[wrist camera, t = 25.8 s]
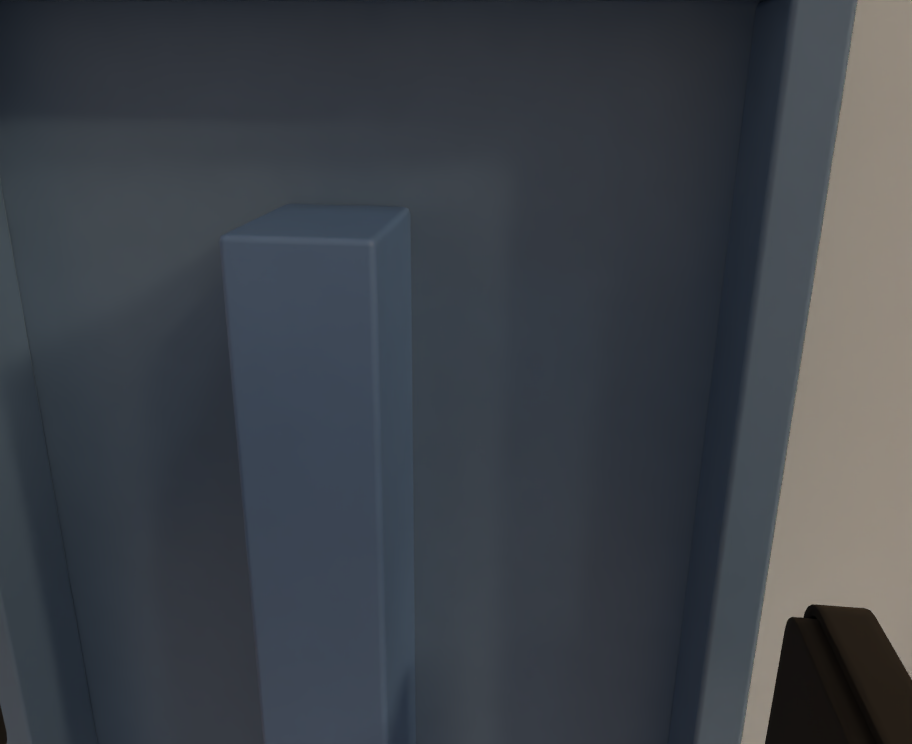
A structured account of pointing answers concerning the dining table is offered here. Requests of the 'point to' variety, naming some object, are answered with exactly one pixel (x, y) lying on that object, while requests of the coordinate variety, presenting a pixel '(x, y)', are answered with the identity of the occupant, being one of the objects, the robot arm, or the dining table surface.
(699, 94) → the slate tray
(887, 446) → the dining table surface
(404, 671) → the slate spoon
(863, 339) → the dining table surface
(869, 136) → the dining table surface
